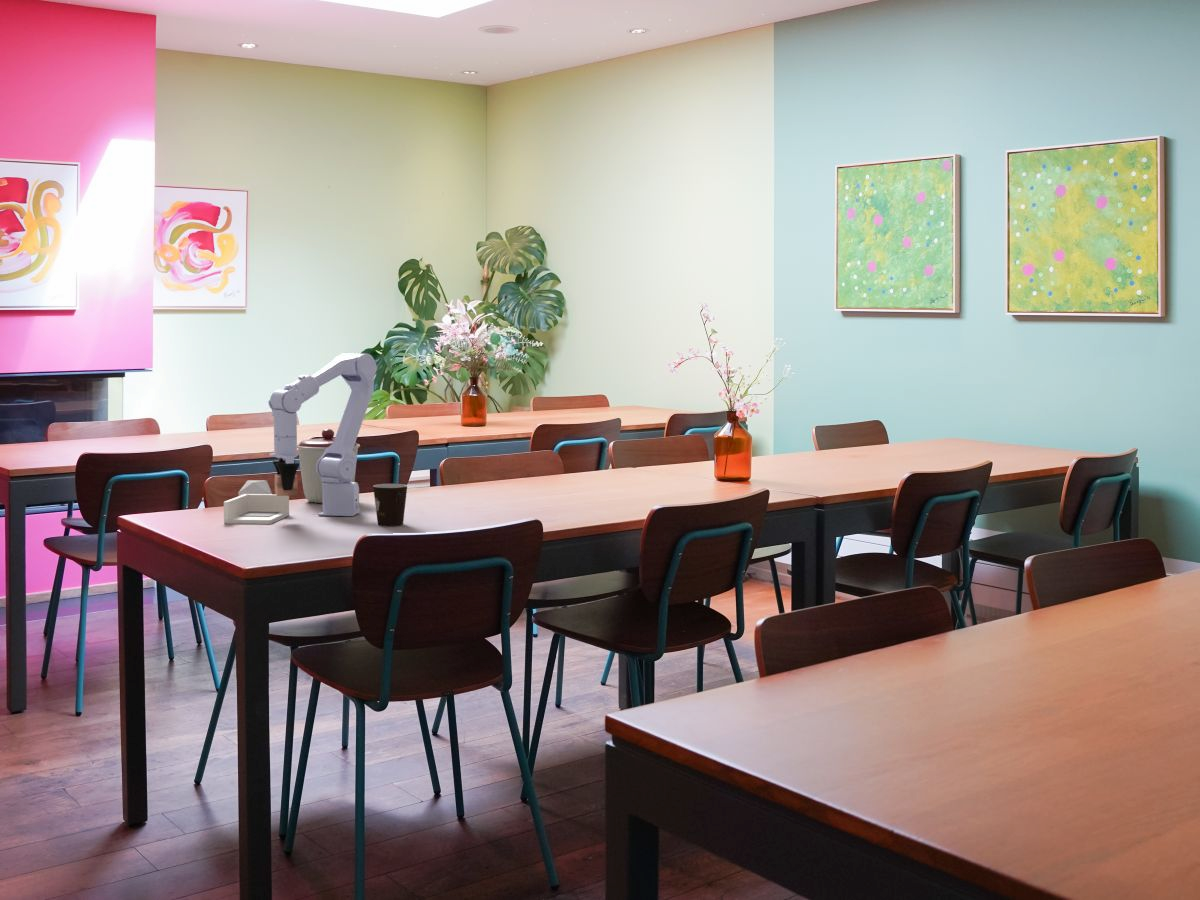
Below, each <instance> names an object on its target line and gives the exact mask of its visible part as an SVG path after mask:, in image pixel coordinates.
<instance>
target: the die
mask: <svg viewBox="0 0 1200 900" xmlns="http://www.w3.org/2000/svg"><path fill="white" fill-rule="evenodd" d="M270 487H271V486H269V482H268V480H264V479H263V480H255V479H254V480H252V479H250V480H249V479H248V480H246V482H245V483H244V484H243V485H242V487H241V488H240V490H239V491H238V492H237V493H238V496H241V495H243V494H273V493H272V490H271V488H270Z"/></svg>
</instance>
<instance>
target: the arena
mask: <svg viewBox="0 0 1200 900" xmlns="http://www.w3.org/2000/svg"><path fill="white" fill-rule="evenodd" d="M288 516H290V496H277V495H276V494H275V493H274V494H273V493H272V494H243V495H241V496H239V495H238V496H236V497H233V498H231V499H228V500H225V501H223V523H224V524H242V525H243V524H245V525H246V524H249V525H253V524H254V525H271V524H273V523H275V522H278V521H280V520H282V519H284V518H286V517H288Z"/></svg>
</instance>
